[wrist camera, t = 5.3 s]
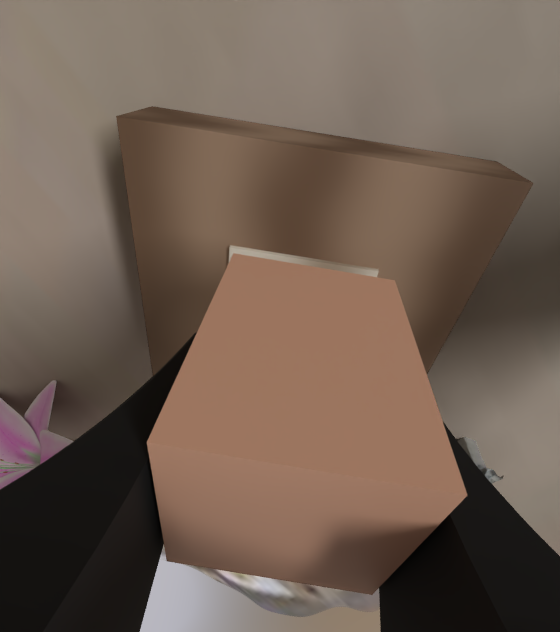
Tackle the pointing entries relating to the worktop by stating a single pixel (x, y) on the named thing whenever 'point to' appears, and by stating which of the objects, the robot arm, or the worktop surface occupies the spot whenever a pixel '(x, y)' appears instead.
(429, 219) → the walnut base
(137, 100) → the worktop surface
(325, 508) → the terracotta block
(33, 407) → the lily
